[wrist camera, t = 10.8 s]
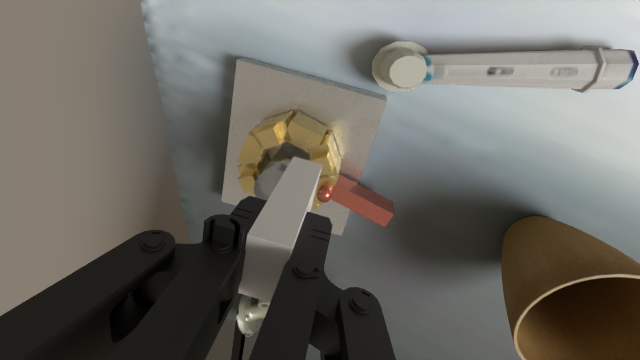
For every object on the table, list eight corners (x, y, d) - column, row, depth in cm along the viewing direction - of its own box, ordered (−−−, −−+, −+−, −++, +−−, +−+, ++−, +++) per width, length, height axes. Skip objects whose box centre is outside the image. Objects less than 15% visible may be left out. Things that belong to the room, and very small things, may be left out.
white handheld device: (627, 99, 33) (376, 100, 33) (581, 86, 39) (368, 87, 39) (650, 43, 31) (379, 44, 31) (597, 38, 37) (371, 39, 37)
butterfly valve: (326, 265, 53) (229, 285, 56) (333, 415, 38) (201, 431, 41) (340, 291, 58) (252, 308, 62) (352, 430, 44) (234, 443, 47)
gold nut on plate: (244, 57, 41) (197, 72, 30) (386, 96, 40) (389, 125, 29) (228, 192, 50) (188, 241, 39) (343, 226, 49) (333, 283, 39)
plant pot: (620, 236, 43) (737, 343, 29) (520, 293, 50) (577, 404, 36) (544, 166, 41) (632, 247, 27) (450, 237, 47) (481, 331, 33)
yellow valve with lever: (238, 172, 45) (222, 191, 40) (270, 96, 39) (255, 107, 35) (366, 237, 46) (364, 262, 41) (413, 172, 41) (418, 193, 36)
